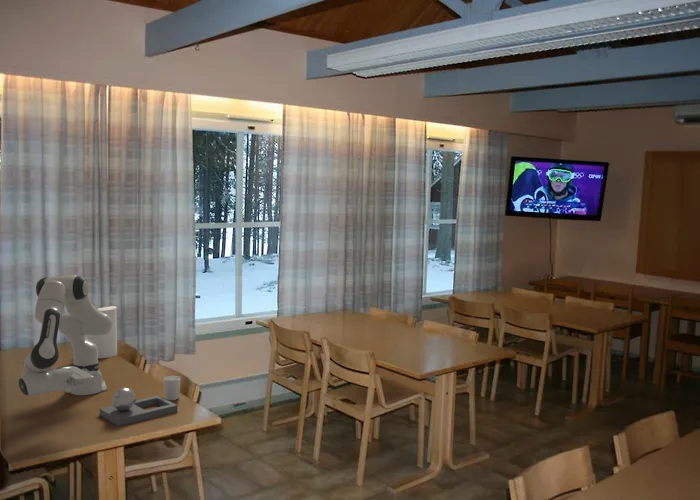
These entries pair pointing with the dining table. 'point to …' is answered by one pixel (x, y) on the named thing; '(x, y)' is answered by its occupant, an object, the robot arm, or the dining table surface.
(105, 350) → the cylinder
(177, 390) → the white cup
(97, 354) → the robot arm
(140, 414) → the tray
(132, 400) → the steel ball
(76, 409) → the dining table surface
